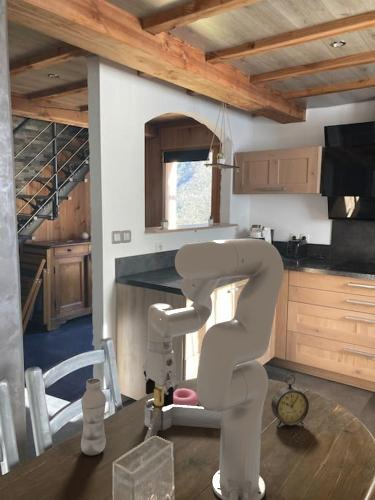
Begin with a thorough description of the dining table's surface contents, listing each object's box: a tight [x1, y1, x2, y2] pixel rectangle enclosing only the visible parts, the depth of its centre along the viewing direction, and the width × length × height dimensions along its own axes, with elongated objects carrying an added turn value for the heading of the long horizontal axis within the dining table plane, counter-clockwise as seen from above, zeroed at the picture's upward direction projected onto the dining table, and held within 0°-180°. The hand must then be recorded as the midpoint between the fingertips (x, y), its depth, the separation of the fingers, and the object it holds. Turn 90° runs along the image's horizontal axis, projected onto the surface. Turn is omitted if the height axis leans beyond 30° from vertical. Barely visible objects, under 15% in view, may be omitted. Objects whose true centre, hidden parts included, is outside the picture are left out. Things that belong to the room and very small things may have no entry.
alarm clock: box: [270, 374, 310, 429], centre depth 127 cm, size 11×5×16 cm, turn 104°
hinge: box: [143, 397, 222, 442], centre depth 118 cm, size 24×24×6 cm
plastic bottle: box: [80, 377, 107, 456], centre depth 111 cm, size 6×7×20 cm
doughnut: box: [173, 387, 199, 406], centre depth 139 cm, size 11×11×4 cm
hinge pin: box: [153, 385, 165, 408], centre depth 127 cm, size 3×3×11 cm
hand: (159, 399), depth 126 cm, fingers open, 9 cm apart
